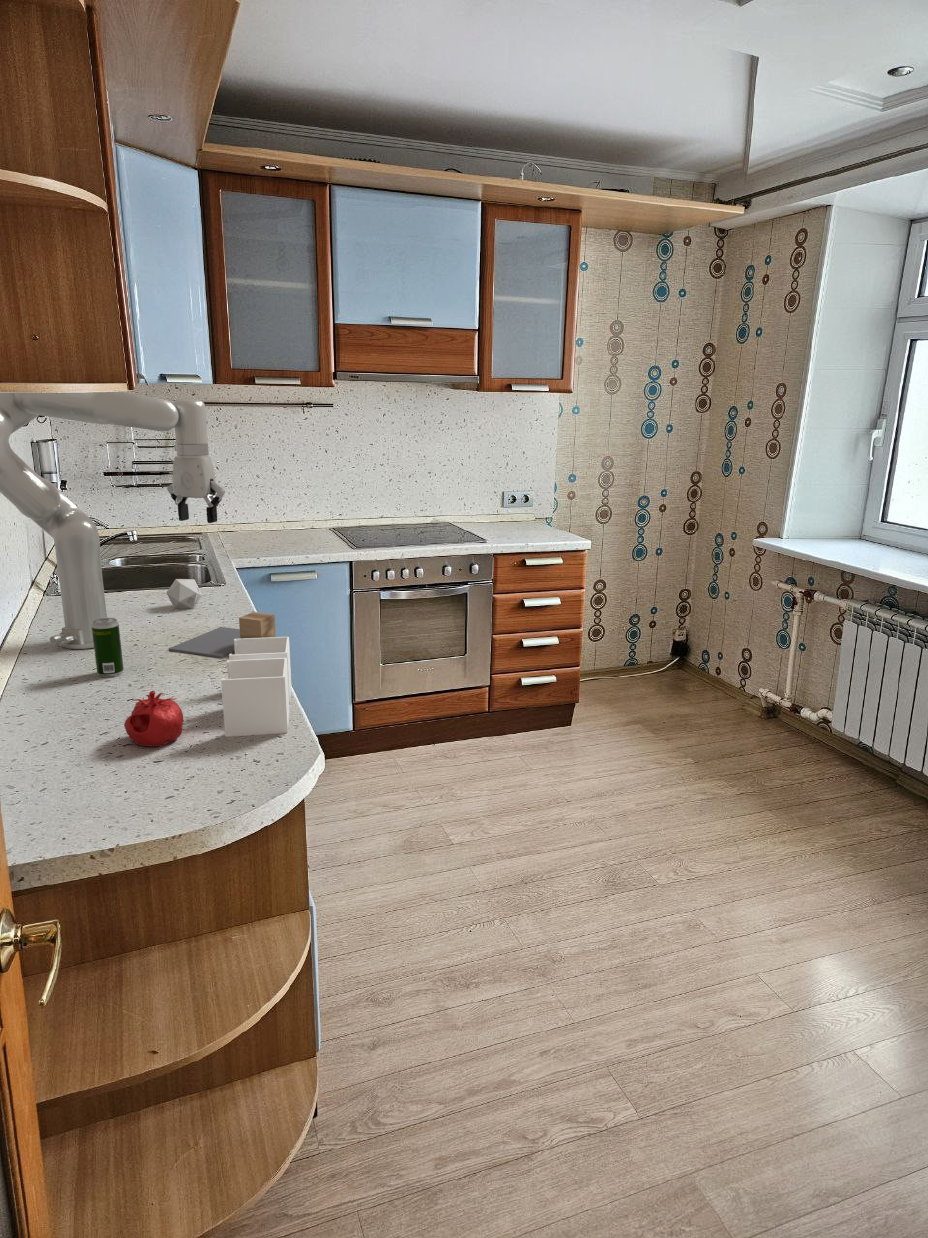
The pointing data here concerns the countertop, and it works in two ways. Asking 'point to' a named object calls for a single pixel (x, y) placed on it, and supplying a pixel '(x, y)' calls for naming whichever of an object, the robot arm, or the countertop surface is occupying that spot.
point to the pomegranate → (154, 721)
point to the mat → (210, 643)
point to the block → (257, 625)
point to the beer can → (107, 647)
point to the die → (184, 594)
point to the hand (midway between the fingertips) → (198, 520)
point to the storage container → (257, 687)
